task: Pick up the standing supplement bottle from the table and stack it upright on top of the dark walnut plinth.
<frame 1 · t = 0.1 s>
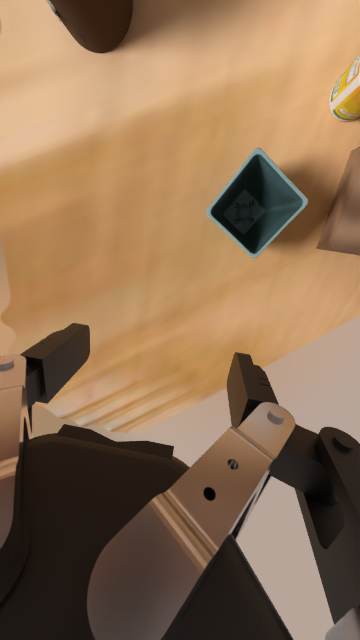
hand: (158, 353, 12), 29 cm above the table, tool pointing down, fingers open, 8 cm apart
flower pot: (244, 213, 35), on the table
supplement bottle: (349, 98, 29), on the table
olive oil: (97, 4, 28), on the table
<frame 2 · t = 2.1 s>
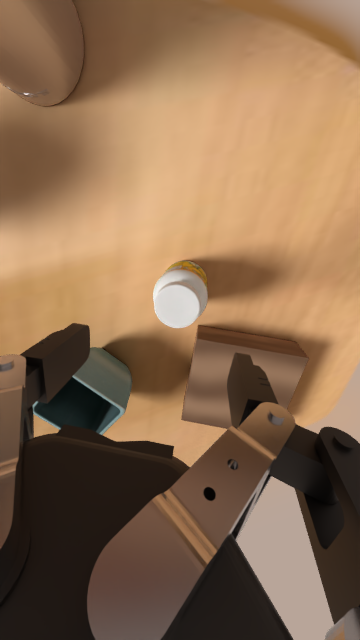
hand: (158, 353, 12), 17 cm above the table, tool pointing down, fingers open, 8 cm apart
walnut plinth: (235, 373, 32), on the table
flower pot: (107, 366, 34), on the table
supplement bottle: (185, 281, 28), on the table
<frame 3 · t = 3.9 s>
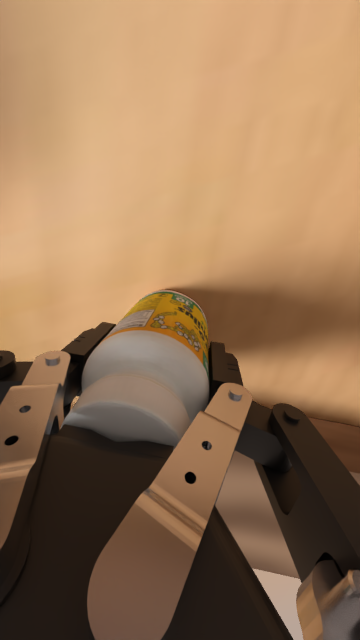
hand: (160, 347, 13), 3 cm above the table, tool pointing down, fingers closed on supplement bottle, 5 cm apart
walnut plinth: (252, 466, 20), on the table
supplement bottle: (169, 325, 16), on the table, touching gripper
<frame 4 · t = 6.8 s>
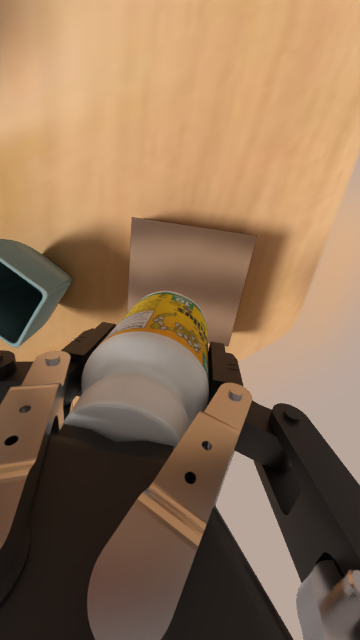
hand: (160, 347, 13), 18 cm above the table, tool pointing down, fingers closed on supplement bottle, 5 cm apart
walnut plinth: (187, 280, 29), on the table
flower pot: (50, 279, 31), on the table
supplement bottle: (169, 325, 16), point 15 cm above the table, touching gripper
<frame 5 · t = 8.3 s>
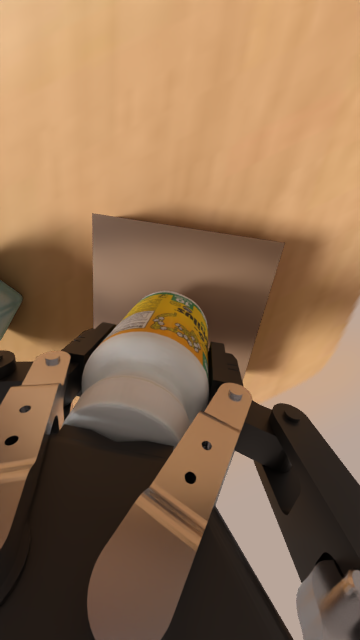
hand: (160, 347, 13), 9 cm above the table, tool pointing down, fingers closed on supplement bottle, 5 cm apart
walnut plinth: (179, 302, 21), on the table
supplement bottle: (169, 325, 16), point 6 cm above the table, touching gripper
when the fingers open (9 cm above the table, at t = 9.7 s): supplement bottle drops 2 cm, resting on walnut plinth.
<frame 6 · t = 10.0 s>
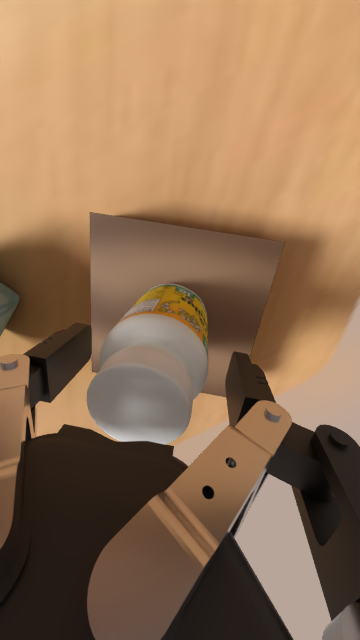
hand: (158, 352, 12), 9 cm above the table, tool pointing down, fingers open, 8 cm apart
walnut plinth: (178, 302, 21), on the table
supplement bottle: (172, 315, 17), point 4 cm above the table, touching walnut plinth
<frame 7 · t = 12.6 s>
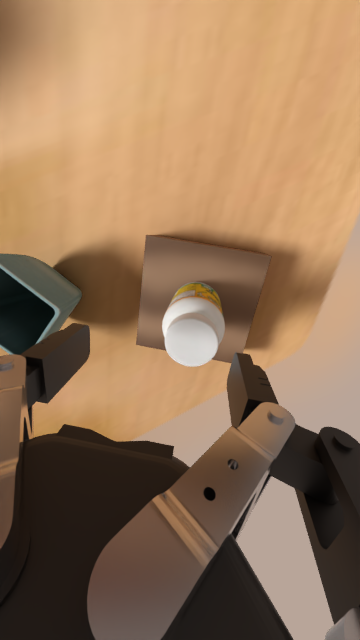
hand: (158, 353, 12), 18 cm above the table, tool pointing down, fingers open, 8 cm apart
walnut plinth: (197, 296, 29), on the table
flower pot: (60, 292, 31), on the table
supplement bottle: (196, 304, 25), point 4 cm above the table, touching walnut plinth
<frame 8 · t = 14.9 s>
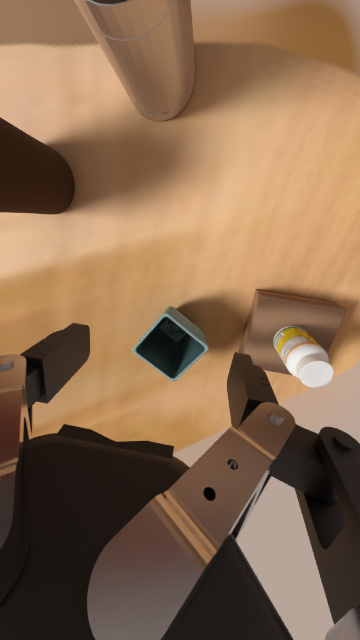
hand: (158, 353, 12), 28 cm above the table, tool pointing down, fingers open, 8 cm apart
walnut plinth: (282, 329, 40), on the table
flower pot: (176, 326, 43), on the table
supplement bottle: (289, 339, 37), point 4 cm above the table, touching walnut plinth
olive oil: (47, 182, 36), on the table
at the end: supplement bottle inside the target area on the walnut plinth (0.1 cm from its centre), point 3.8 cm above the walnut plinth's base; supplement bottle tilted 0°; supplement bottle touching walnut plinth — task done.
